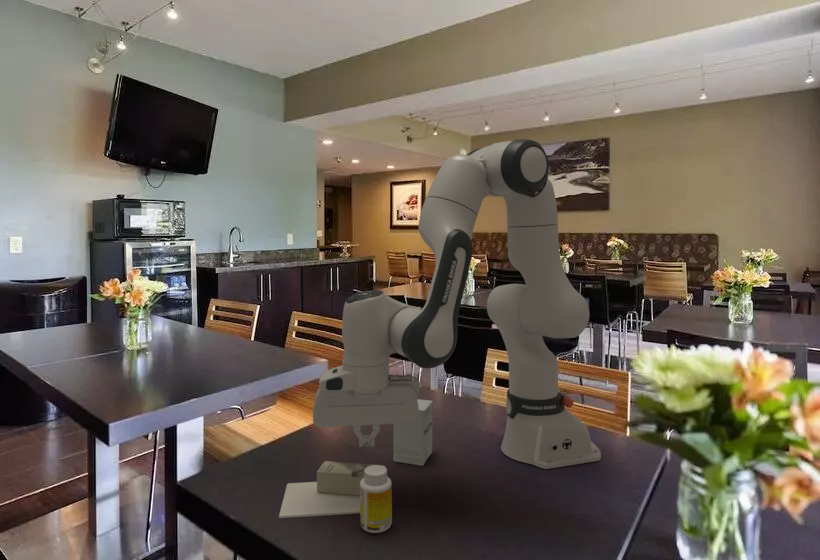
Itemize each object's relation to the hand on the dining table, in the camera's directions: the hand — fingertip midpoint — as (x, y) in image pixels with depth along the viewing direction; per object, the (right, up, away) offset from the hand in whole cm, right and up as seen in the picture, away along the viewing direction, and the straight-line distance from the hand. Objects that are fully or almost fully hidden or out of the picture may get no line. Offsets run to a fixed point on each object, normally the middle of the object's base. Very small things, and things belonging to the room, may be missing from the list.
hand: (366, 445), depth 99 cm
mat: (-7, -10, 0) cm, 12 cm away
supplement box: (+9, -9, +18) cm, 22 cm away
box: (+3, -8, +2) cm, 8 cm away
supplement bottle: (+2, -11, -9) cm, 15 cm away
